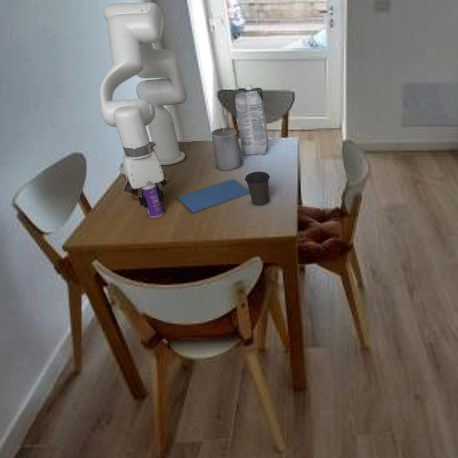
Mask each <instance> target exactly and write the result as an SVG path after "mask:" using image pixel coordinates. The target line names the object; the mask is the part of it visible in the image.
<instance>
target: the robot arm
mask: <svg viewBox="0 0 458 458" xmlns="http://www.w3.org/2000/svg"><path fill="white" fill-rule="evenodd" d="M103 17H104V19H105V21H106V23H107V33H108V40H109V49H110V54H111V55H110V57H111V67H110V68H109V69H108V71H107V72H106V73H105V75H104V76H103V78H102V80H101V83H100V86H99V91H98V92H99V93H98V95H99V102H100V111H101V112H100V113H101V116H102V119H103V122H104V123H105V124H106V125H107V126H110V127H113V128H116V129H117V133H118V137H119V139H120V143H121V146H122V149H123V152H124V154H123V155H122V163H123V165H124V170H125V175H126V181H125V182H124V184H123V186H122V191H123V192H125V193H129V194H131V195H132V194H134V195H136V196H138V199H139V200H138V199H137V200H138V202H139V205H140V206H143V208H144V209H147V204H146V200H145V197H144V196H143V194H142V187H145V186H146V184H147V182H148V181H151V182H152V183H153V184H155V183H156V186H157V189H158V193H159V197H160V200H161V203H164V202H165V193H164V190H165V186H166V185H167V183H168V182H169V181H170V179H171V178H172V176H171V175H170V174H169V173H167V172H166V171H165V170H163V168H162V166H169V165H174V164H178V163H180V162H182V161H184V159H186V154H185V152H184V151H181V149H180V145H179V141H178V140H179V139H178V137H177V131H176V127H175V123H174V120H173V115H172V114H171V112H170V111H169V110H168V108H166V107H165V106H173V105H182V104H184V103H185V102H186V101H187V97H188V95H187V89H186V84H185V81H184V77H183V72H182V68H181V64H180V60H179V57H178V55H177V54H176V52H175V51H174V50H172V49H168V48H161V49H155V48H154V46H153V44H157V43H159V42H160V41H161V39H162V35H163V30H164V21H165V20H164V15H163V11H162V9H161V7H160V6H159V5H158V4H157V3H155V2H122V3H121V2H120V3H110V4H108V5H106V6H104V8H103ZM135 76H136V77H138V78H140V79H145V80H141V81H140V82H138V83H136V87H135V93H136V96H137V98H135V99H134V98H133V99H116V100H113V95H114V93H115V91H116V90H117V88H118V87H119V86H120V85H122V84H123V83H125V82H126V81H128V80H130V79H131V78H133V77H135ZM147 128H148V129H147ZM148 132H149V134H148ZM149 135H150V137H149ZM150 139H151V141H150ZM130 185H131V186H132V188H134V189H132V188H129V187H130Z"/></svg>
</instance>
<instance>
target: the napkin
mask: <svg viewBox="0 0 458 458" xmlns="http://www.w3.org/2000/svg"><path fill="white" fill-rule="evenodd" d="M248 194H250V192H249V189H246V188H245V187H244V186H242V185H241V184H239V183H238V182H236V180H234V179H229V180H227V181H223V182H221V183H220V182H219V183H217V184H214V185H211V186H208V187H206V188H205V187H204V188H202V189H199V190H196V191H193V192H189V193H187V194H184V195H181V196H178V197H177V199H178V200H179V201H180V202H181V203H182V204H183V205H184V206H185V207H186V208H188V209H189V211H191V212H192V213H196V212H199V211H202V210H205V209H208V208H210V207H213V206H216V205H219V204H223V203H224V202H228V201H230V200H233V199H235V198H238V197H242V196H244V195H248Z"/></svg>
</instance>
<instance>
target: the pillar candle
mask: <svg viewBox="0 0 458 458" xmlns="http://www.w3.org/2000/svg"><path fill="white" fill-rule="evenodd" d="M211 141H212V145H213V149H214V150H213V152H214V156H215V162H216V168H217V169H219V170H223V171H230V170H234V169H237V168H240V167H241V166H242V165H243V164H242V163H243V162H242V155H241V149H240V142H239V135H238V130H237V129H236V128H233V127H220V128H217V129H215V130H212V131H211Z"/></svg>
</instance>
